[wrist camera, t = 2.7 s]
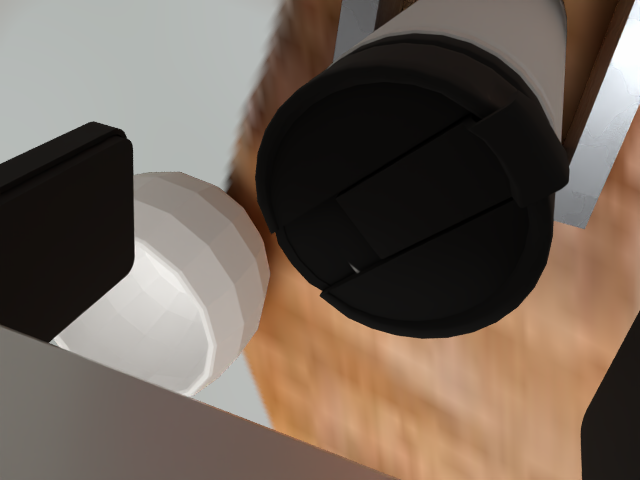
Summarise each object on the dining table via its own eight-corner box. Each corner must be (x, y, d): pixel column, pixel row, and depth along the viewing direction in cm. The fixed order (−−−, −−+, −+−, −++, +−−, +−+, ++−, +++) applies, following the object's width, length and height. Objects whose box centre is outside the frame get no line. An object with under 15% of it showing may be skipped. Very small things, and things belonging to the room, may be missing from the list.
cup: (111, 252, 44) (8, 333, 36) (151, 106, 36) (33, 165, 29) (258, 343, 43) (187, 446, 35) (328, 211, 36) (259, 303, 28)
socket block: (398, -145, 26) (365, -151, 22) (698, -95, 23) (725, -92, 19) (351, 120, 32) (319, 153, 28) (583, 182, 30) (584, 229, 26)
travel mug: (602, 45, 27) (645, 289, 10) (472, 124, 30) (352, 397, 14) (526, -82, 26) (441, -29, 9) (400, 16, 29) (177, 179, 13)
